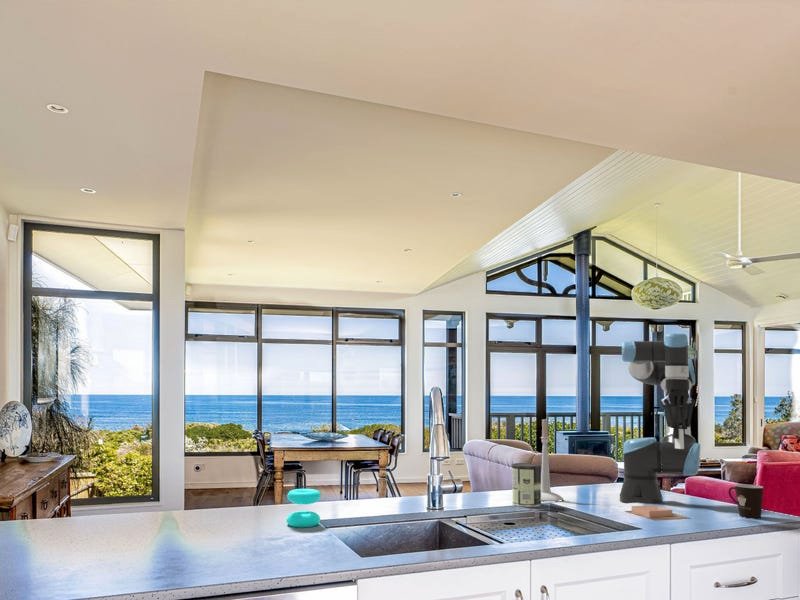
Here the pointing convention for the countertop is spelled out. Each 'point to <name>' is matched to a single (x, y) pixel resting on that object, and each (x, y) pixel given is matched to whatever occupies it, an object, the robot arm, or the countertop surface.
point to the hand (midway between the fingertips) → (679, 448)
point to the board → (674, 516)
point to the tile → (651, 511)
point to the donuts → (303, 516)
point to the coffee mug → (748, 500)
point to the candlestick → (546, 468)
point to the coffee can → (526, 484)
